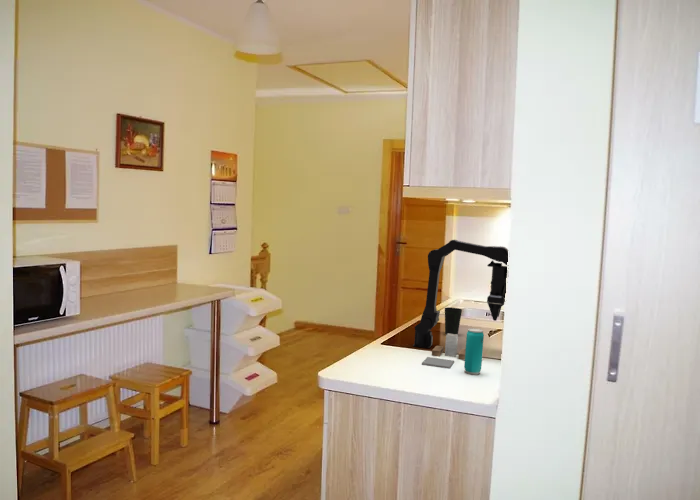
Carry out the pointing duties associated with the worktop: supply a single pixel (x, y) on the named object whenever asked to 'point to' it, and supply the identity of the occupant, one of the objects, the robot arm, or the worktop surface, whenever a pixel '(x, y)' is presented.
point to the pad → (438, 362)
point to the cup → (452, 320)
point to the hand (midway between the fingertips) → (496, 318)
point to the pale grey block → (451, 345)
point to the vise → (440, 349)
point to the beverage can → (474, 351)
